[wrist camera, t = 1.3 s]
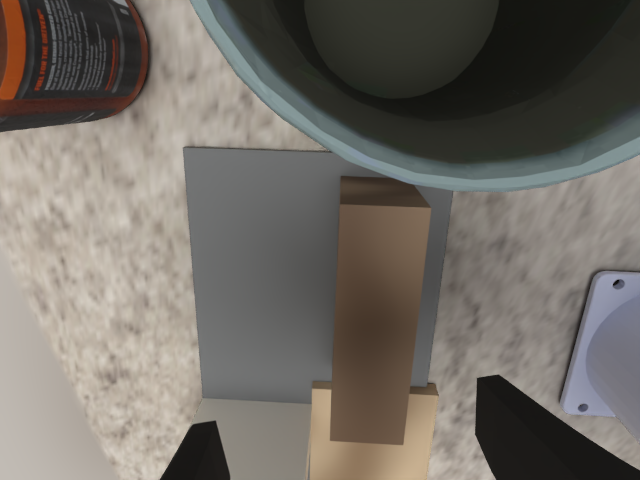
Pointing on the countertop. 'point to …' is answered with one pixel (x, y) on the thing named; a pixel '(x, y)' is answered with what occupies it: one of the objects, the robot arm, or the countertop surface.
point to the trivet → (373, 459)
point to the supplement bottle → (68, 61)
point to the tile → (261, 437)
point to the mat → (280, 269)
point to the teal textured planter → (446, 83)
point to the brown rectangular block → (376, 307)
